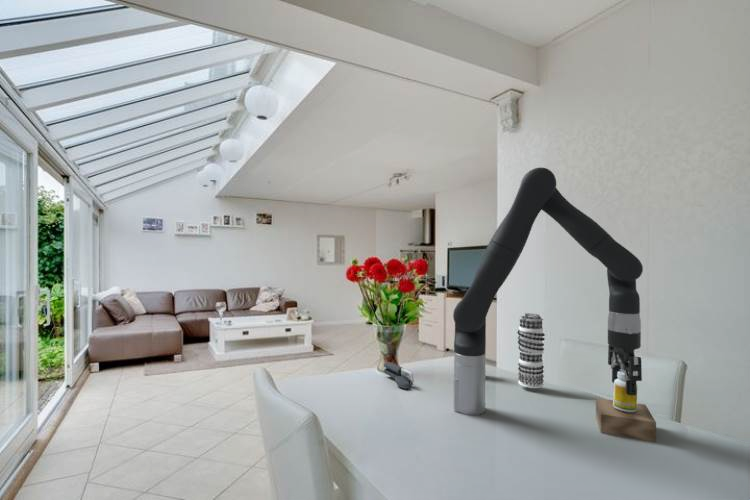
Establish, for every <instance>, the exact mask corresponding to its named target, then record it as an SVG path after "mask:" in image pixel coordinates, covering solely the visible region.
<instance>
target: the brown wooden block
mask: <svg viewBox="0 0 750 500" xmlns="http://www.w3.org/2000/svg"><path fill="white" fill-rule="evenodd" d="M595 418H596V421H597V425H598V429H599V431H600V433H601V434H605V435H611V436H618V437H623V438H630V439H636V440H644V441H649V442H655V443H656V442H657V421H656V419H655V418H654V416H653V415H652V413H651V412H650V410H649V408H648V406H647V405H646V404H645V403H637V405H636V411H635V412H624V411H620V410H618V409H616V408H614V407H613V399H607V398H599V397H596V398H595Z"/></svg>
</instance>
